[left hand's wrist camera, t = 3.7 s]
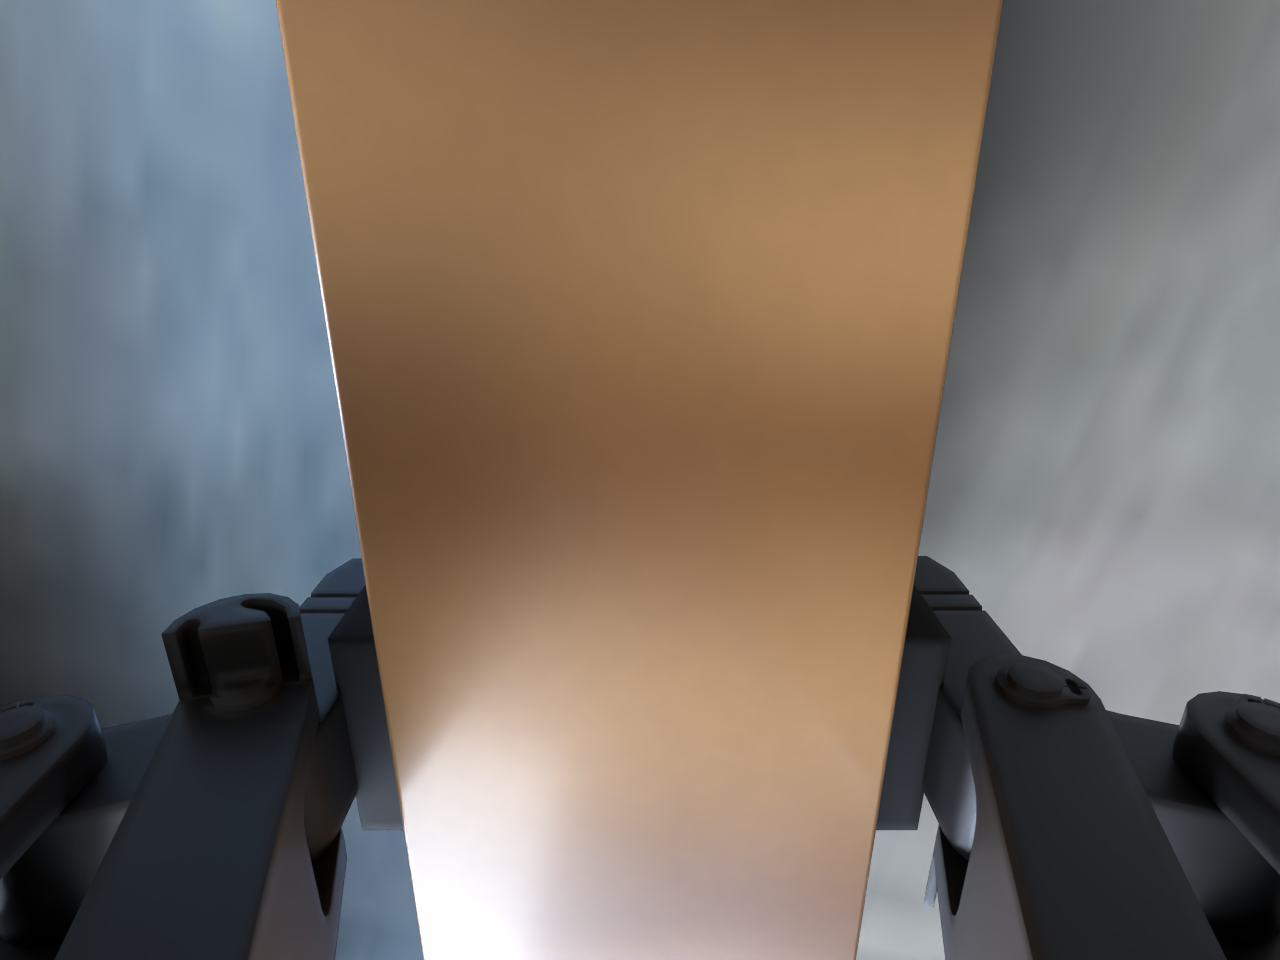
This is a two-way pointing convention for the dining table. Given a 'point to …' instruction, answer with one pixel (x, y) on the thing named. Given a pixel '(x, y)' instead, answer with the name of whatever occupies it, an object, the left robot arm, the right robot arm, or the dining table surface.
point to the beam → (639, 439)
